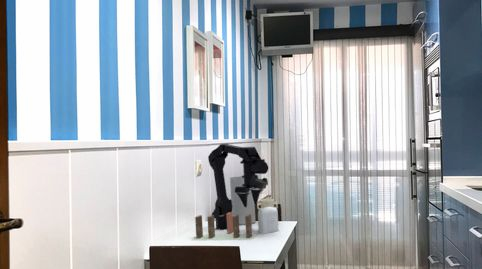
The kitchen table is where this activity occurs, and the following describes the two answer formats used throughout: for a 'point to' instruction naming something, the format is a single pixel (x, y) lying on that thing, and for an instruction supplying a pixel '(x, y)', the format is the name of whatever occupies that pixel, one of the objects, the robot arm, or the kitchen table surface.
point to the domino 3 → (236, 226)
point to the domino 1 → (199, 226)
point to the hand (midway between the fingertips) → (250, 205)
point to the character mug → (267, 203)
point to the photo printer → (268, 220)
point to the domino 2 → (211, 226)
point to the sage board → (225, 237)
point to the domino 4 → (248, 226)
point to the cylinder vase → (237, 203)
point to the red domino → (229, 223)
